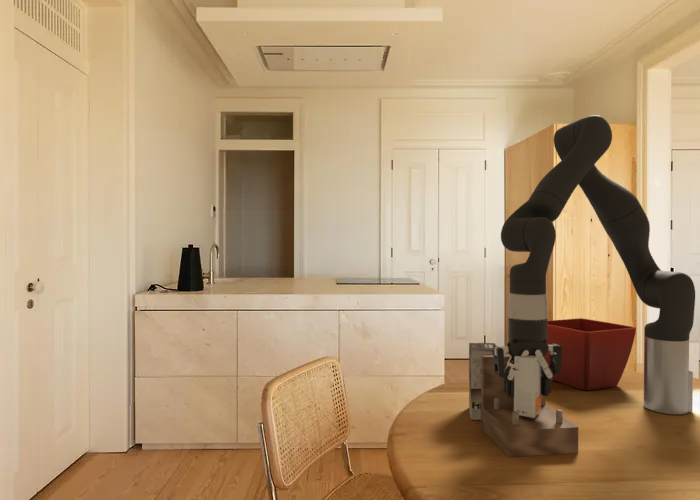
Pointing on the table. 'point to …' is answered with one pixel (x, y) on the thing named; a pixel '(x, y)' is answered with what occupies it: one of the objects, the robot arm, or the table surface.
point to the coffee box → (476, 376)
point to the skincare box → (527, 386)
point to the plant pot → (590, 351)
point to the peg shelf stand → (521, 420)
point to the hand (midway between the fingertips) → (527, 396)
